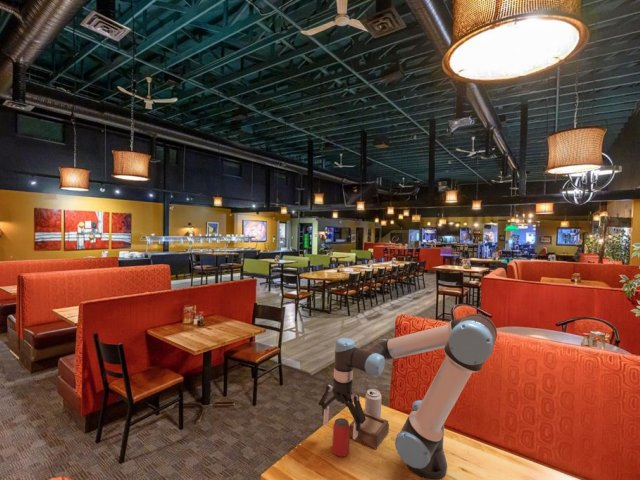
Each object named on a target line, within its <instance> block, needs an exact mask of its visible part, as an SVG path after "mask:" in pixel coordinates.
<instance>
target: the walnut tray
mask: <svg viewBox="0 0 640 480" xmlns="http://www.w3.org/2000/svg"><path fill="white" fill-rule="evenodd" d="M363 413H364V416H365V419H366V420H365V421H364V423H363V424H361V426H360V430H359V431H358V436H357V438H356V439H355V441H358V442H360V443H362V444H364V445H366V446H369V447H371V448H373V449H375V450H378V448H380V445H381V444H382V443H383V441H384V440H385V438H386V437H387V436H388V434H389V433H390V423H389V420H387V419H384V418H382V417H380V418H379V417H377V416H374V415H372V414H369V413H366V412H365V410H363ZM354 422H355V420H354V419H353V420H352V421H351V422H350V423H349V427H350V436H349V438H351V439H353V428H354Z"/></svg>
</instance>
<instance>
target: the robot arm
mask: <svg viewBox="0 0 640 480" xmlns="http://www.w3.org/2000/svg"><path fill="white" fill-rule="evenodd" d="M497 338H498V331H497V327H496V324H494V322H493V321H492V319H490V318H489V317H487V316H485V315H483V314H480V313H470V314H467V315H464V316H462V317H459V318H455V319H451V320H449V323H447V324H445V325H440V326H436V327H432V328H428V329H424V330H421V331H417V332H416V331H415V332H413V333H409V334H405V335H404V334H403V335H401V336H398V337H393V338H389V339H385V338H384V339H380V340H378V341H376V342H375V343H374V344H373V345H371V346H370V347H368V348H367V349H361V348H359V347H356V343H355V341H354V339H352V338H349V337H341V338H339V339H337V340H336V341H335V348H334V349H335V350H334V368H333V384H331V383H330V384H328V385H327V386H325V392H323V395H322V396H321V398H320V400H319V402H318V405H319V406H321V408H322V410H321V411H322V412H321V415H322V416H323V422H322V423H323V426H326V425H327V424H328V423H329V416H330V406H329V405H330V404H331V403H332V402H334V400H336V401H337V402H339V403H341V404H343V405H345V406H346V407H347V409H348V411H349V412H350V414H351V416H352V418H353V421H354V420H355V422H354V428H353V438H352V440H355V439H356V438H357V436H358V431H359V430H360V426H361V424H363V423H364V421H365V420H366V419H365V416H364V413H363V411H364V409H363V407H362V405H361V401H360V395H359V394H358V393H357V394H353V392H352V391H353V379H354V369H355V370H358V371H360V372H363V373H367V374H369V375H373V376H381V375H382V373H383V371H384V369H385V365H386V362H387V361H391V360H394V359H398V358H399V359H400V358H403V357H408V356H409V357H410V356H412V355H417V354H422V353H427V352H432V351H437V350H442V349H443V352H444V355H445V358H444V359H443V360H442V363H441V365H440V367H439V369H438V371H437V372H436V375H435V377H434V378H433V380H432V381H431V384H430V385H429V387H428V389H427V391H426V393H425V395H424V397H423V398H422V399H421V400H420V399H419V400H415V401H413V402H412V407H411V412H410V413H409V414H408V416H407V418H406V420H405V422H404V424H403V425H402V428H401V429H400V431H399V432H398V433H397V434H396V438H395V440H394V446H395V450H396V453H397V454H398V456H399V458H400V459H401V460H402V461H403V462H404V463H405V464H406V466H407V468H408V469H409V470H410V471H411V472H412V473H413V474H415V475H416V476H418V477H421V478H422V479H426V480H440V479H442V478H443V479H444V477H445V476H446V475H447V473H448V472H447V471H448V462H447V460H446V459H447V458H446V454H445V452H444V437H445V436H444V435H445V422H446V420H447V418H448V417H449V415H450V413H451V411H452V410H453V408H454V407H455V405H456V403H457V401H458V399H459V398H460V395H461V393H462V391H464V388H465V386H466V385H467V382H468V381H469V379H470V378H471V376H472V374H473V373H479V372H480V371H481V370H482V368H483V367H484V364H485V362H486V361H487V360H488V359H489V358H491V355H492V353H493V351H494V348H495V347H494V346H495V343H496V342H497ZM331 392H332V393H333V396H332V397H331V398H329V399H328V400H327V398H328V397H329V395H330V394H331ZM326 400H327V401H326ZM355 441H356V440H355Z"/></svg>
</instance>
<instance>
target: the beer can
mask: <svg viewBox="0 0 640 480" xmlns="http://www.w3.org/2000/svg"><path fill="white" fill-rule="evenodd" d="M333 423H334V424H333V426H332V428H333V429H332V447H331V448H332V452H333V454H334V455H336V457H337V456H338V457H346V456H347V455H348V454H349V452H350V437H349V436H350V427H349V426H350V423H349V421H348V419H346V418H343V417H339V418H336V419H335V420H334V422H333Z"/></svg>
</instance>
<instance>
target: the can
mask: <svg viewBox="0 0 640 480" xmlns="http://www.w3.org/2000/svg"><path fill="white" fill-rule="evenodd" d="M364 396H365V404H364V412H366V413H369V414H372V415H374V416H377V417H379V418H382V417H381V416H382V394H381V391H380V390H378V389H375V388H371V389H367V391H366V393H365V395H364Z"/></svg>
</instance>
